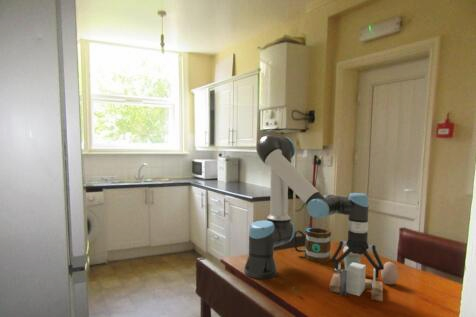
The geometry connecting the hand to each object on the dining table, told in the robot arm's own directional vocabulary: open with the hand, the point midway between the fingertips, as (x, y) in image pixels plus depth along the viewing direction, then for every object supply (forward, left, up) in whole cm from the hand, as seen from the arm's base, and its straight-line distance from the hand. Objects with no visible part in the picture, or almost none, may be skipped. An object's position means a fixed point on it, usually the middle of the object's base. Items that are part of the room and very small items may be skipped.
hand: (356, 282), depth 129 cm
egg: (+13, +15, -4) cm, 20 cm away
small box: (0, 0, -4) cm, 4 cm away
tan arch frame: (0, +2, -4) cm, 4 cm away
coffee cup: (-3, +21, -4) cm, 21 cm away
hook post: (-6, -6, -4) cm, 10 cm away
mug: (-25, +34, -4) cm, 42 cm away
